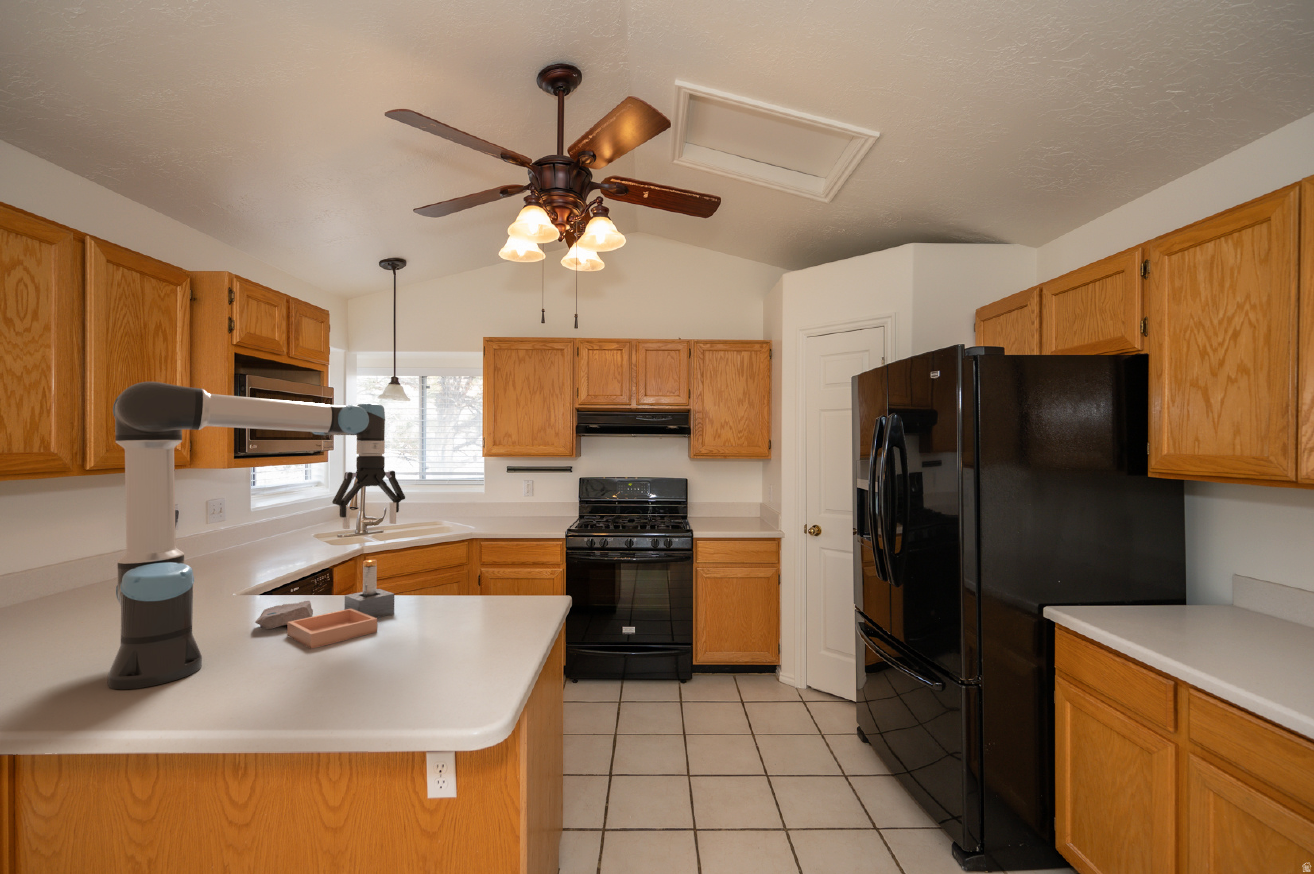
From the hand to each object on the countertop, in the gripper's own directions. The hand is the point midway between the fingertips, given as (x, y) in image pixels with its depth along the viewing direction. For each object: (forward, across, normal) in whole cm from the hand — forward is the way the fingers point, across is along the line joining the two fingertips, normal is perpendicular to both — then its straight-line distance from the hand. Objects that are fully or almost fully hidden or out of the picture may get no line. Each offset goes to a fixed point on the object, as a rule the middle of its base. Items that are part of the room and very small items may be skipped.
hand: (370, 526), depth 164 cm
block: (+26, 0, 0) cm, 26 cm away
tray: (+26, -14, -10) cm, 32 cm away
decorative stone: (+27, -20, +8) cm, 34 cm away
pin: (+26, 0, 0) cm, 26 cm away
